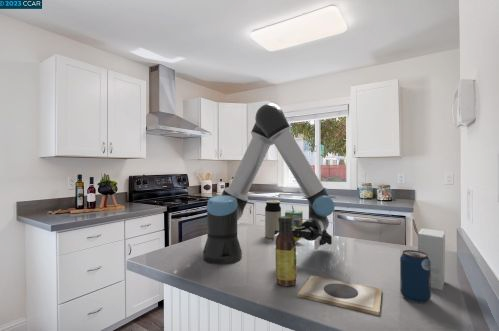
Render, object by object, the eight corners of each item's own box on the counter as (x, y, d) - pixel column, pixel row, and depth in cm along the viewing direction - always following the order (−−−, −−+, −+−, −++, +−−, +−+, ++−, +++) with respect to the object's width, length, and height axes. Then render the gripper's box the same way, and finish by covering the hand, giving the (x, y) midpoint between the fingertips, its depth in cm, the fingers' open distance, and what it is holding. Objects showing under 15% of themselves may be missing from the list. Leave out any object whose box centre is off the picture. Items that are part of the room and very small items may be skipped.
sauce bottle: (299, 286, 80) (299, 219, 80) (279, 288, 79) (278, 219, 79) (292, 277, 86) (292, 215, 87) (273, 278, 85) (273, 215, 85)
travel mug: (276, 239, 131) (276, 202, 131) (262, 237, 136) (262, 201, 136) (283, 236, 138) (283, 200, 138) (269, 234, 142) (269, 199, 142)
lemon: (285, 243, 126) (285, 221, 126) (290, 240, 131) (290, 219, 131) (298, 245, 122) (298, 223, 122) (303, 242, 127) (303, 220, 127)
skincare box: (420, 276, 87) (420, 227, 87) (446, 281, 83) (446, 230, 83) (416, 285, 81) (416, 232, 81) (444, 291, 76) (443, 236, 76)
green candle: (303, 236, 139) (302, 207, 139) (284, 235, 140) (284, 206, 141) (303, 231, 148) (302, 204, 148) (286, 231, 149) (286, 204, 150)
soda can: (437, 304, 70) (437, 257, 70) (411, 305, 69) (411, 257, 69) (418, 291, 76) (418, 248, 76) (394, 292, 76) (394, 249, 76)
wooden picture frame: (297, 296, 74) (297, 292, 74) (311, 278, 86) (311, 274, 86) (379, 315, 64) (379, 311, 64) (381, 291, 76) (381, 288, 76)
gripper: (345, 242, 100) (334, 260, 82) (281, 234, 112) (259, 248, 93) (345, 222, 100) (334, 235, 82) (281, 216, 112) (259, 226, 93)
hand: (294, 242), depth 87 cm, fingers open, 13 cm apart
